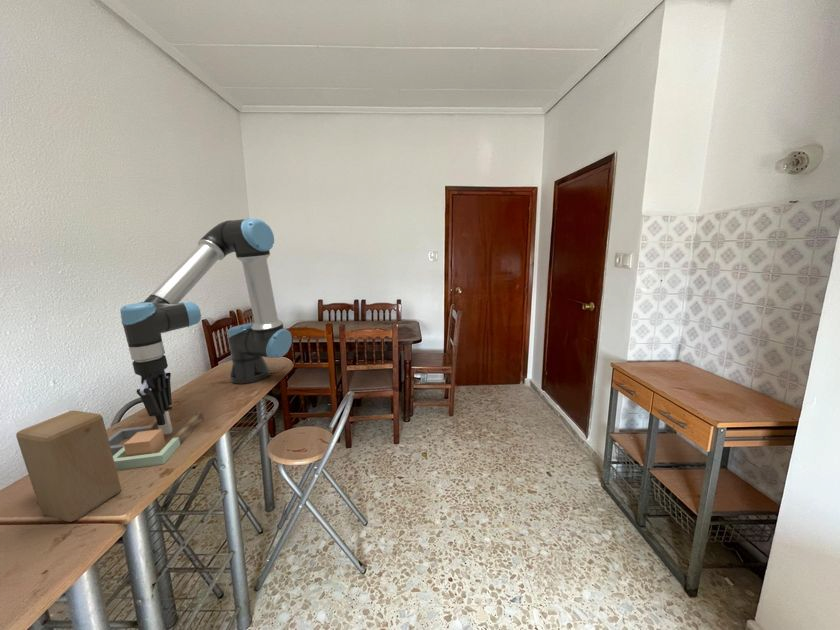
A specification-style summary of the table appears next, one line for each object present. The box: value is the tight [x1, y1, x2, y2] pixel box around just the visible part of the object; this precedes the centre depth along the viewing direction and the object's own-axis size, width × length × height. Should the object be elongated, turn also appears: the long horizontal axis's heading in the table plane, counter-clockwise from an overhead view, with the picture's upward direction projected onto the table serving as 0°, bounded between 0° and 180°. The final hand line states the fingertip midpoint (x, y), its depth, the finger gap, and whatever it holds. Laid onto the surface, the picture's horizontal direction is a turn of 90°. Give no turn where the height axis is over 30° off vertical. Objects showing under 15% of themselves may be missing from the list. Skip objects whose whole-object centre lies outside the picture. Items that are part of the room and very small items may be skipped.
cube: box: [123, 429, 167, 457], centre depth 92 cm, size 6×6×6 cm
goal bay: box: [113, 437, 181, 471], centre depth 91 cm, size 8×13×2 cm, turn 100°
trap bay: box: [108, 425, 148, 456], centre depth 98 cm, size 11×8×2 cm
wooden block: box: [16, 410, 122, 523], centre depth 74 cm, size 10×10×20 cm
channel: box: [145, 411, 204, 446], centre depth 103 cm, size 15×13×2 cm
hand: (166, 432), depth 101 cm, fingers closed
